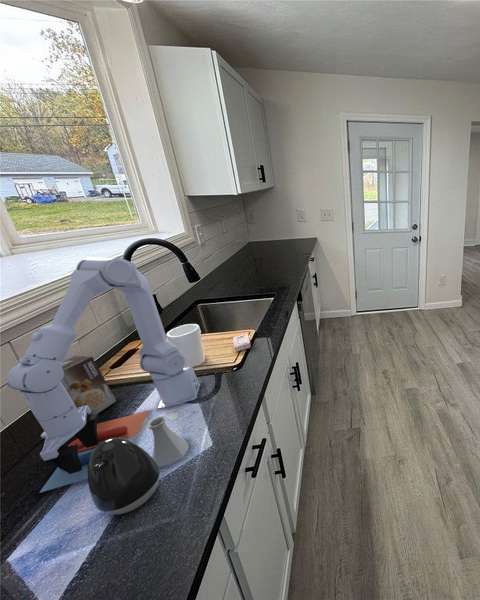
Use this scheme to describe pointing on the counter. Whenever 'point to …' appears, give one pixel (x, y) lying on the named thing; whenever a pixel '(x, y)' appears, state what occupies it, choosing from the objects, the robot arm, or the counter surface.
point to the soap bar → (241, 342)
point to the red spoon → (103, 435)
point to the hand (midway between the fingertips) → (84, 457)
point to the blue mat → (68, 475)
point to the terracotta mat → (129, 421)
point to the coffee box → (86, 384)
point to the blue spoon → (83, 458)
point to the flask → (166, 443)
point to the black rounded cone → (121, 476)
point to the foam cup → (188, 343)
